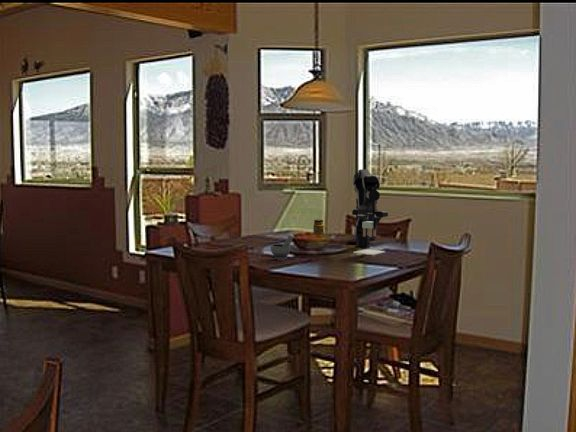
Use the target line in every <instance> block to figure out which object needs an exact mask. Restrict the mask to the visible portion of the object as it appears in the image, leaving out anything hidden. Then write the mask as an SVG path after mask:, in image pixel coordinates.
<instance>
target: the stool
mask: <svg viewBox="0 0 576 432" xmlns="http://www.w3.org/2000/svg"><path fill="white" fill-rule="evenodd" d="M362 228H363V236H364V237H365V236H366V228H367V236H369V237H372V228H373V221H365V222H362ZM377 228H378V226H377V227H376V229H375V230H374V229H373V236H376V237H377Z"/></svg>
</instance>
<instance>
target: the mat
mask: <svg viewBox="0 0 576 432" xmlns="http://www.w3.org/2000/svg"><path fill="white" fill-rule="evenodd" d="M353 253H354V254H359V255H360V254H361V255H367V256H376V255H379V254H385V253H386V250H378V249H370V248H369V249H368V248H363V249H361V250H356V251H353Z"/></svg>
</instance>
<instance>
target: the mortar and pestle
mask: <svg viewBox="0 0 576 432" xmlns="http://www.w3.org/2000/svg"><path fill="white" fill-rule="evenodd" d="M293 240H294V236H293V235H290V234H288V236H287V238H286V240H285V241H284V243H277V244H271V245H270V252H271V254H272V255H273V256H274V260H275V259H278V260H277V261H286V260H285V259H287V260H288V256H289V254H290V253H291V247H292V245H291V243H292V241H293Z"/></svg>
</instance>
